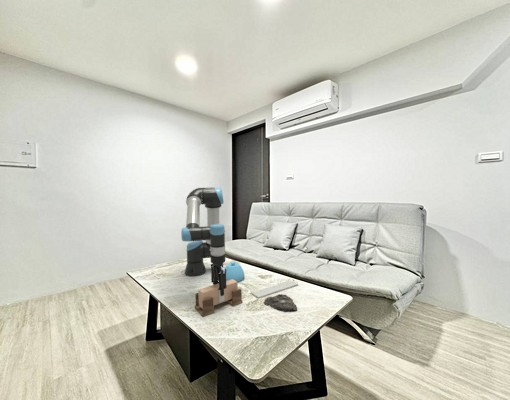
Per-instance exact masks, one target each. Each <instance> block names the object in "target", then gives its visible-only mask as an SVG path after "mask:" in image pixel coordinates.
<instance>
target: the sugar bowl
mask: <svg viewBox="0 0 510 400" xmlns="http://www.w3.org/2000/svg"><path fill="white" fill-rule="evenodd" d="M224 267H225V268H224V269H226V281H228V280H231V279H233V280H235V281H237V283H238V282H239V283H240V282H241V281H242V280H244V278H245V271H244V269H243V268H242V267H243V266H241V264H239V263H237V262H235V261H231V262H230V263H227V265H225V266H224Z"/></svg>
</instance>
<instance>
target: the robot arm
mask: <svg viewBox="0 0 510 400" xmlns="http://www.w3.org/2000/svg"><path fill="white" fill-rule="evenodd" d="M185 203H186V207H187V208H186V222H185V223H186V224H185V227H182V228H181V241H182V242H189V243H187V245H186V267H185V269H184V275H185V274H186V275H185V276H187V275H188V277H199V276H202V275H204V274H206V273H207V270H206V266H205V263H204V259H210V263H211V264H210V270H211V271H210V273H211V275H210V277H211V279H210V280H211V281H210V282H211V283H212V285H215V284H218V283H219V289H218V290H219V304H221V303H220V302H222V303H224V302H223V301H224V289H226V269H225V268H224V263H225V262H226V229H225V225H224V224H222V223H220V209H221V207H222V205H223V204H224V195H223V190H222V188H221V187H215V186H214V187H197V188H194V189H193V190H191V191H190V192H189V194H188V195H187V196H186V200H185ZM201 205H204V207H205V209H206V212H207V213H206V216H207V217H206V219H207V226H200V225H201V222H200V221H201V220H200V217H201V216H200V215H201V214H200V213H201V212H200V207H201ZM204 241H205V242H204Z"/></svg>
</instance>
